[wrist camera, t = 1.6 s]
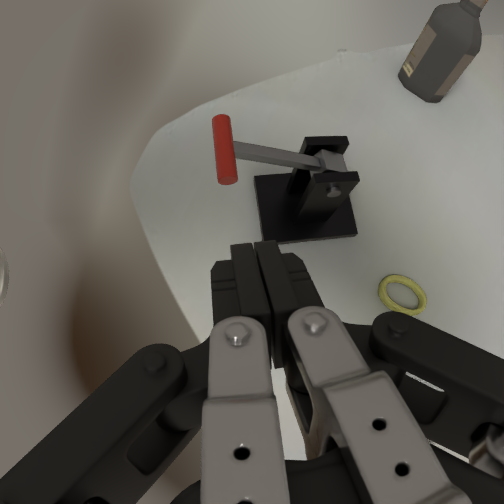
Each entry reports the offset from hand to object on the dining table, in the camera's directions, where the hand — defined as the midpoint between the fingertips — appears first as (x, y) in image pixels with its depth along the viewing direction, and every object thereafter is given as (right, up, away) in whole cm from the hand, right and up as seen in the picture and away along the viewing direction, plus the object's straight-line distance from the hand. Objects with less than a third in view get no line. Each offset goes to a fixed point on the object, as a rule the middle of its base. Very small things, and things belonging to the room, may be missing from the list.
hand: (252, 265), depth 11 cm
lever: (+2, +8, +18) cm, 20 cm away
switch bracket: (+7, +6, +30) cm, 31 cm away
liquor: (+32, +32, +38) cm, 59 cm away
